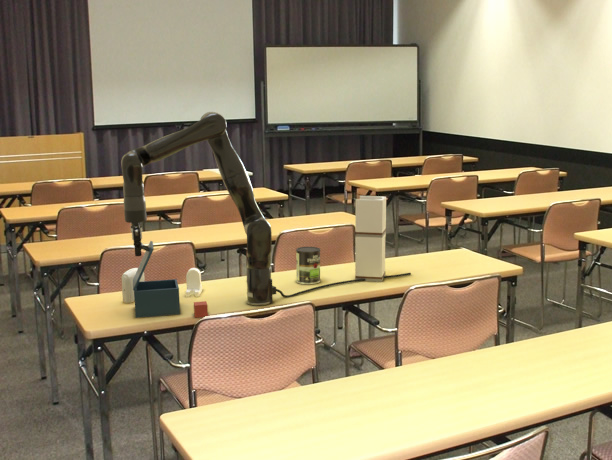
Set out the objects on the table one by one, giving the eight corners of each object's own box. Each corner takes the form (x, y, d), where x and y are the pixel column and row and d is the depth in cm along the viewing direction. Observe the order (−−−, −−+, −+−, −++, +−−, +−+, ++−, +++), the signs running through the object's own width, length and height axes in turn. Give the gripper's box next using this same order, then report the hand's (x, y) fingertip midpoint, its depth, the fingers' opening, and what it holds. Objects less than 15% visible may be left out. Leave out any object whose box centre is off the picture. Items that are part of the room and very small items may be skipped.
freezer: (177, 303, 288) (176, 279, 286) (180, 314, 275) (178, 288, 273) (135, 307, 283) (133, 281, 281) (135, 318, 271) (133, 291, 269)
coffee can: (325, 281, 320) (325, 249, 317) (306, 286, 313) (305, 252, 311) (310, 277, 328) (310, 245, 325) (291, 281, 321) (290, 248, 318)
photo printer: (130, 304, 287) (128, 272, 285) (121, 302, 289) (119, 271, 287) (147, 296, 297) (145, 266, 294) (138, 295, 298) (136, 265, 296)
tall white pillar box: (385, 275, 331) (386, 196, 324) (381, 281, 320) (382, 200, 313) (359, 274, 333) (360, 195, 326) (355, 280, 322) (355, 199, 315)
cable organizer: (202, 289, 307) (201, 265, 305) (199, 296, 298) (198, 272, 296) (189, 289, 307) (188, 266, 305) (185, 296, 297) (184, 272, 295)
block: (206, 312, 277) (206, 301, 276) (207, 316, 273) (207, 304, 272) (194, 313, 276) (193, 302, 275) (195, 317, 271) (194, 305, 270)
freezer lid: (152, 241, 281) (139, 236, 279) (153, 249, 268) (140, 243, 266) (134, 281, 282) (121, 276, 280) (135, 290, 269) (121, 285, 267)
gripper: (146, 210, 264) (149, 258, 268) (145, 204, 278) (148, 249, 281) (123, 212, 262) (127, 259, 266) (124, 205, 276) (127, 250, 279)
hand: (138, 254), depth 273 cm, fingers closed on freezer lid, 5 cm apart
